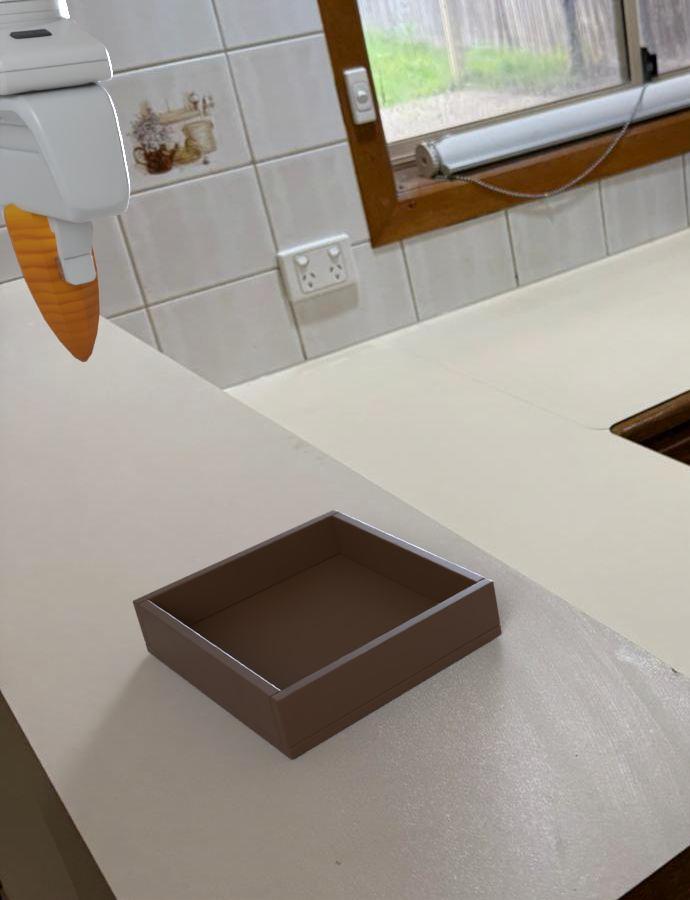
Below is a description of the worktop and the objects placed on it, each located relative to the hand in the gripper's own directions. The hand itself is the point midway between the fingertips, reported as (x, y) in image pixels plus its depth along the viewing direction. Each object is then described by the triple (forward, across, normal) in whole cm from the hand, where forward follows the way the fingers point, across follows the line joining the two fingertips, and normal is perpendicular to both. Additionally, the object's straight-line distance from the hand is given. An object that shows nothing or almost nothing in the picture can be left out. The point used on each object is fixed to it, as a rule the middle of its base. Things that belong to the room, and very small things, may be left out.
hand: (61, 276), depth 75 cm
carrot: (+6, 0, 0) cm, 6 cm away
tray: (+14, +31, -3) cm, 35 cm away
